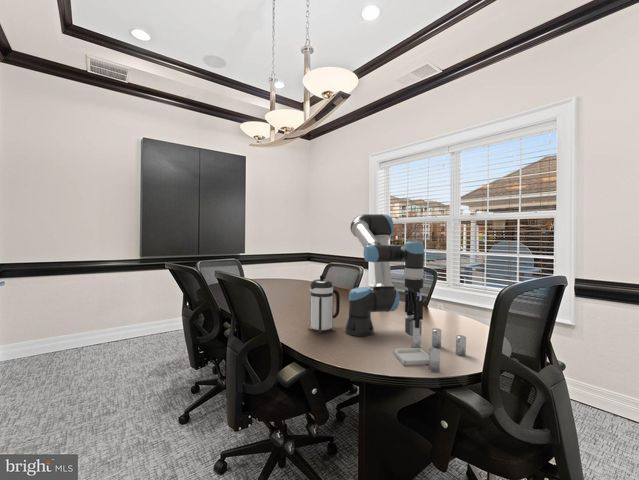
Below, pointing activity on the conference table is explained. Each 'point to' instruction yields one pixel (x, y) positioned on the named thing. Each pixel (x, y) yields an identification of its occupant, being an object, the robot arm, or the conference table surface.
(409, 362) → the tray
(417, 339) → the spacer
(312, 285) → the coffee press
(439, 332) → the cylinder
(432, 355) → the cylinder
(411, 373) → the conference table surface
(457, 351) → the cylinder
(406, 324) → the slate cube
